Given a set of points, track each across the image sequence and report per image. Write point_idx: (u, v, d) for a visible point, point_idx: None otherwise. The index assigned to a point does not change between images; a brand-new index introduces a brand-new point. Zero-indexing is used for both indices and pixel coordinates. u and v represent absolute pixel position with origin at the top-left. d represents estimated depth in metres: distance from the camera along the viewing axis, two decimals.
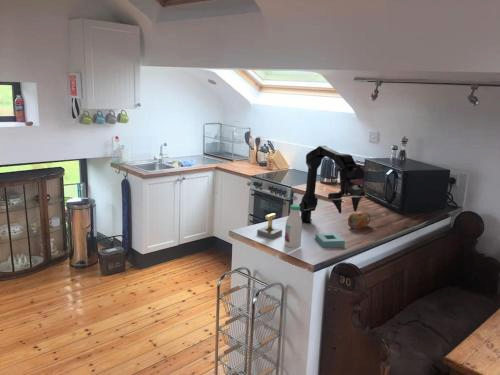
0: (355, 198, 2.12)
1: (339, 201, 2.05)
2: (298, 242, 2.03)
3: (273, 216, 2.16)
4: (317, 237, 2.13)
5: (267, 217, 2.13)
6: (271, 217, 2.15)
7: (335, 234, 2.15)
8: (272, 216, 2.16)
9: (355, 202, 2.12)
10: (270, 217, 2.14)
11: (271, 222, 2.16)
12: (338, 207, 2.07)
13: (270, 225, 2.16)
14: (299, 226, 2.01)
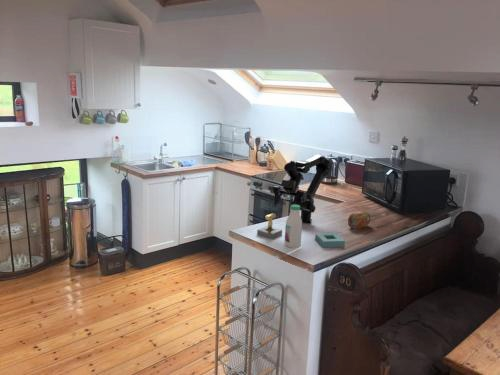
0: None
1: (275, 193, 2.24)
2: (298, 242, 2.03)
3: (273, 216, 2.16)
4: (317, 237, 2.13)
5: (267, 217, 2.13)
6: (271, 217, 2.15)
7: (335, 234, 2.15)
8: (272, 216, 2.16)
9: None
10: (270, 217, 2.14)
11: (271, 222, 2.16)
12: None
13: (270, 225, 2.16)
14: (299, 226, 2.01)
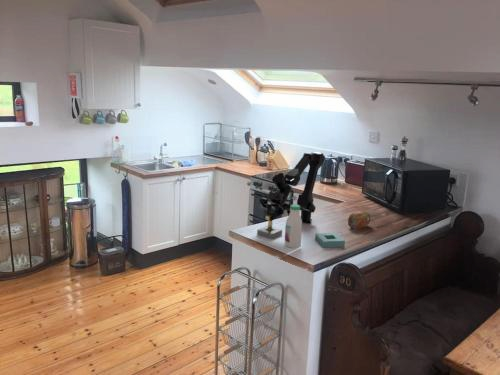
0: None
1: (267, 206, 2.18)
2: (298, 242, 2.03)
3: None
4: (317, 237, 2.13)
5: (267, 217, 2.13)
6: None
7: (335, 234, 2.15)
8: None
9: None
10: (270, 217, 2.14)
11: (271, 222, 2.16)
12: None
13: (270, 225, 2.16)
14: (299, 226, 2.01)
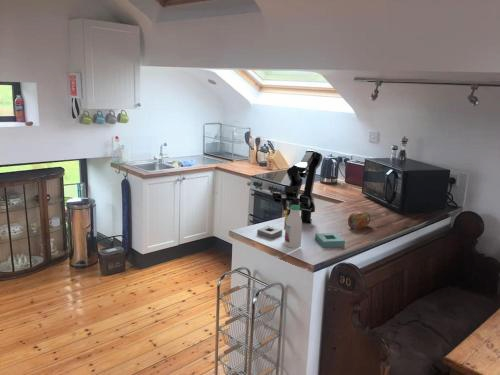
0: None
1: (283, 200, 2.11)
2: (298, 242, 2.03)
3: None
4: (317, 237, 2.13)
5: (285, 211, 2.07)
6: (288, 211, 2.09)
7: (335, 234, 2.15)
8: None
9: None
10: (288, 211, 2.09)
11: None
12: None
13: None
14: (299, 226, 2.01)
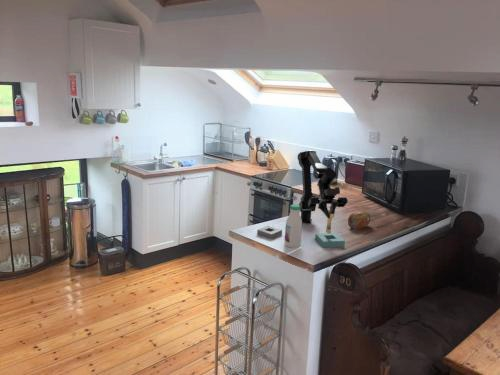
0: (331, 205, 2.11)
1: (324, 204, 2.08)
2: (298, 242, 2.03)
3: None
4: (317, 237, 2.13)
5: (332, 215, 2.05)
6: None
7: (335, 234, 2.15)
8: None
9: (332, 209, 2.09)
10: None
11: (331, 219, 2.09)
12: (325, 212, 2.08)
13: None
14: (299, 226, 2.01)
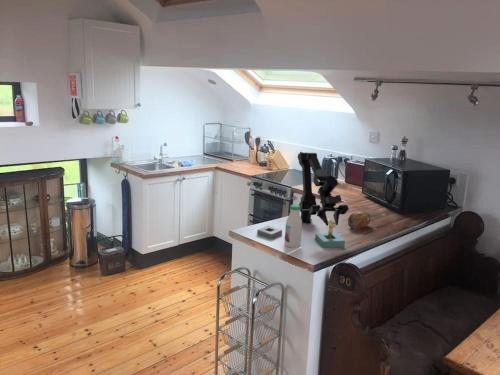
0: (335, 213, 2.12)
1: (323, 212, 2.09)
2: (298, 242, 2.03)
3: None
4: (317, 237, 2.13)
5: (334, 225, 2.07)
6: None
7: (335, 234, 2.15)
8: None
9: (335, 216, 2.11)
10: None
11: (332, 229, 2.10)
12: (324, 219, 2.09)
13: (332, 232, 2.10)
14: (299, 226, 2.01)
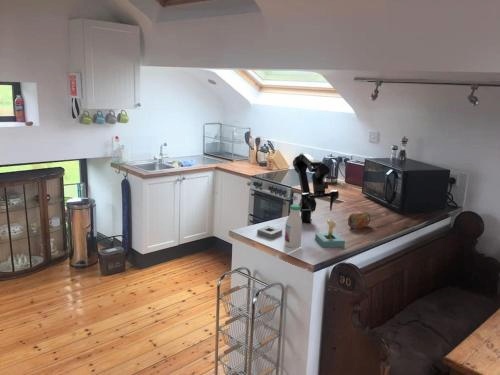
0: (330, 198, 2.19)
1: (307, 200, 2.18)
2: (298, 242, 2.03)
3: None
4: (317, 237, 2.13)
5: (334, 225, 2.07)
6: None
7: (335, 234, 2.15)
8: None
9: (330, 202, 2.18)
10: None
11: (332, 229, 2.10)
12: (309, 207, 2.19)
13: (332, 232, 2.10)
14: (299, 226, 2.01)
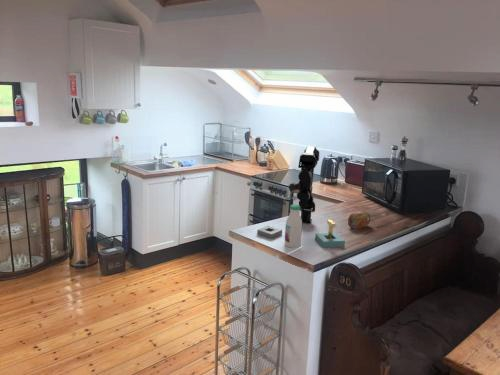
0: None
1: None
2: (298, 242, 2.03)
3: None
4: (317, 237, 2.13)
5: (334, 225, 2.07)
6: None
7: (335, 234, 2.15)
8: None
9: None
10: None
11: (332, 229, 2.10)
12: None
13: (332, 232, 2.10)
14: (299, 226, 2.01)
